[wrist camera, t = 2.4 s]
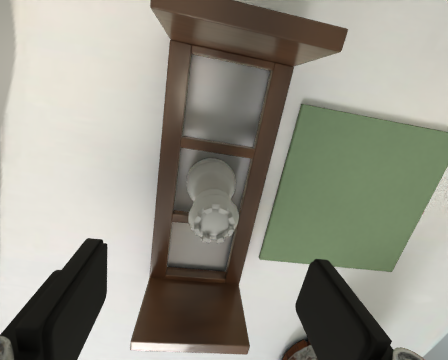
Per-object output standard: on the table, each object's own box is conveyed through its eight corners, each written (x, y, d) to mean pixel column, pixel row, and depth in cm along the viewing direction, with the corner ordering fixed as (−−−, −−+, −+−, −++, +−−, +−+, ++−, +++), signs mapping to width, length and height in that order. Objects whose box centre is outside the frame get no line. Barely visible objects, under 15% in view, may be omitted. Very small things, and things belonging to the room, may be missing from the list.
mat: (459, 134, 22) (464, 135, 21) (389, 269, 27) (391, 272, 27) (301, 103, 20) (303, 104, 19) (258, 257, 25) (259, 259, 25)
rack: (289, 55, 18) (349, 28, 11) (234, 279, 26) (247, 354, 18) (174, 29, 17) (151, -21, 10) (152, 272, 24) (129, 351, 17)
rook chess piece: (215, 209, 22) (221, 267, 15) (176, 184, 21) (162, 234, 14) (244, 175, 21) (266, 218, 14) (206, 146, 20) (206, 177, 13)
